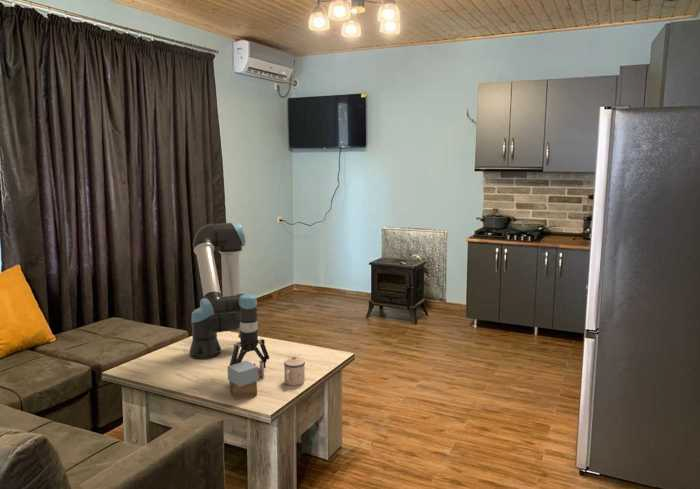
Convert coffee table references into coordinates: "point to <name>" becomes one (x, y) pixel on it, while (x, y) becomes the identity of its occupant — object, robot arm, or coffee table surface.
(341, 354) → the coffee table surface
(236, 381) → the gray brick
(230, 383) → the walnut brick
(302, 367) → the teacup with lid
